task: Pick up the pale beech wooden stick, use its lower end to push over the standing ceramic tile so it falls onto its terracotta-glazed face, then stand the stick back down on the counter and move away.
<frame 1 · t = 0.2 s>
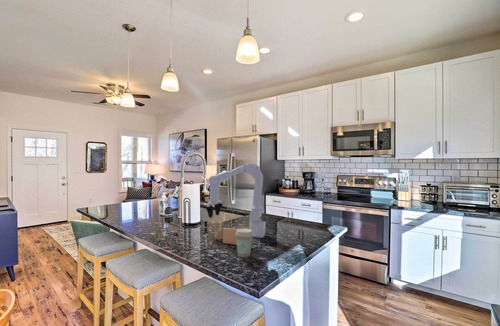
hand: (214, 216, 153), 10 cm above the countertop, tool pointing down, fingers open, 7 cm apart
coffee cup: (243, 255, 117), on the countertop
stick: (218, 238, 141), on the countertop
tile: (230, 243, 133), on the countertop
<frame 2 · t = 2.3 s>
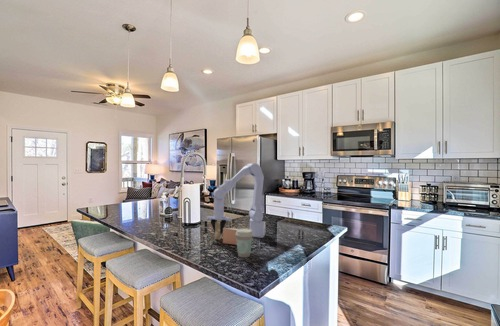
hand: (218, 232, 141), 3 cm above the countertop, tool pointing down, fingers closed on stick, 3 cm apart
stick: (218, 238, 141), on the countertop, touching gripper
everything else where it was.
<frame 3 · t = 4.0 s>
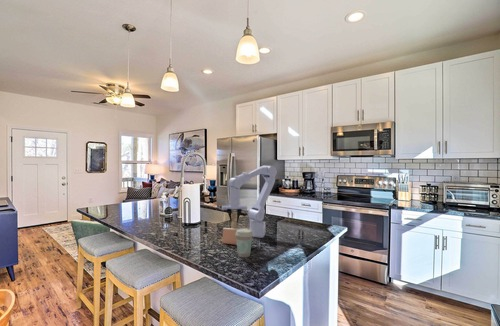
hand: (234, 222, 140), 10 cm above the countertop, tool pointing down, fingers closed on stick, 3 cm apart
stick: (234, 228, 140), point 6 cm above the countertop, touching gripper
everything else where it was.
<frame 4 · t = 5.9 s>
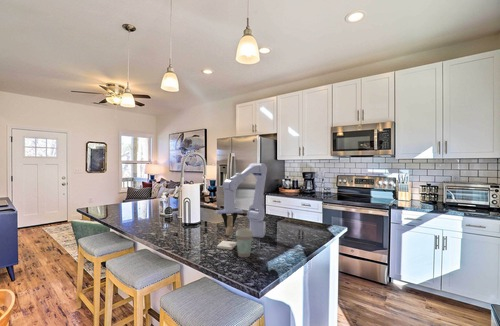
hand: (229, 227, 131), 9 cm above the countertop, tool pointing down, fingers closed on stick, 3 cm apart
stick: (229, 234, 132), point 6 cm above the countertop, touching gripper
tile: (229, 243, 132), on the countertop, tilted 90°
everything else where it was.
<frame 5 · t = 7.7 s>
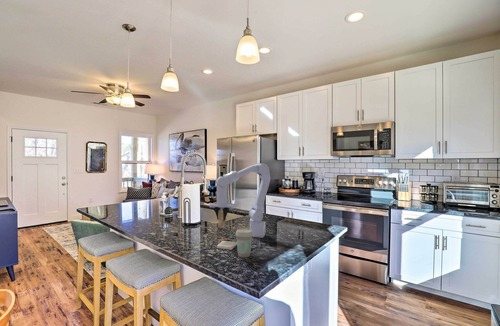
hand: (221, 220, 142), 10 cm above the countertop, tool pointing down, fingers closed on stick, 3 cm apart
stick: (221, 227, 142), point 6 cm above the countertop, touching gripper
everything else where it was.
when the fingers open (4 cm above the countertop, at t = 9.1 s): stick stays where it is, on the countertop.
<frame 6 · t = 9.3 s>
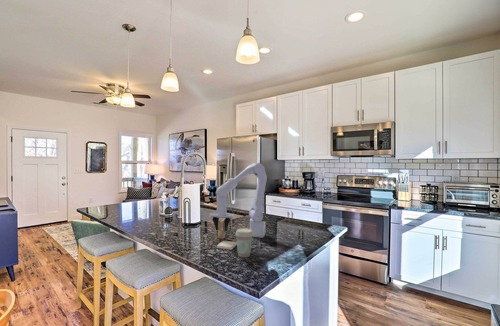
hand: (221, 230, 142), 4 cm above the countertop, tool pointing down, fingers open, 5 cm apart
stick: (221, 237, 142), on the countertop
everything else where it was.
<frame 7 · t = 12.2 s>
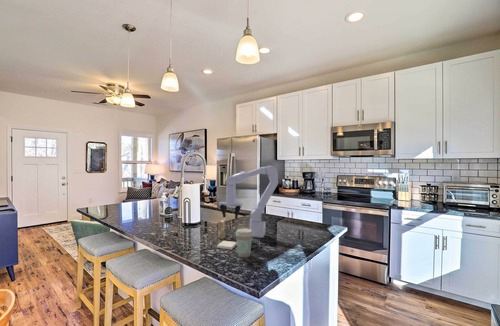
hand: (230, 217, 148), 10 cm above the countertop, tool pointing down, fingers open, 7 cm apart
nothing on the countertop moved.
at the end: tile tilted 90°; tile inside the target area (2.9 cm from its centre), on the countertop; the gripper is holding nothing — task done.
